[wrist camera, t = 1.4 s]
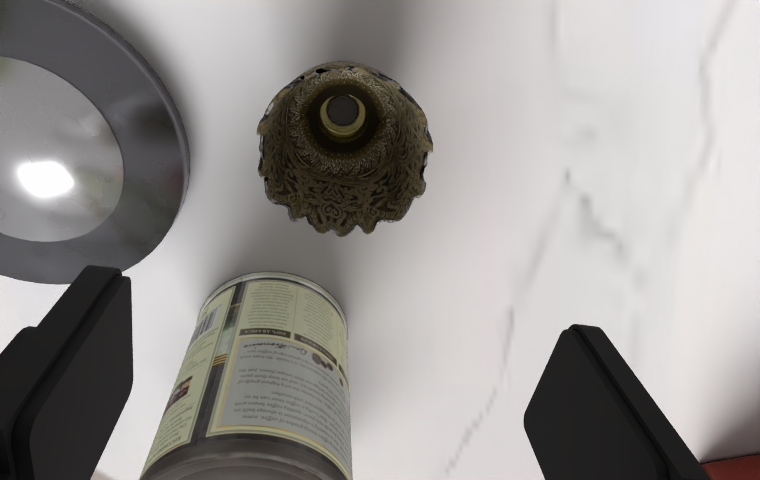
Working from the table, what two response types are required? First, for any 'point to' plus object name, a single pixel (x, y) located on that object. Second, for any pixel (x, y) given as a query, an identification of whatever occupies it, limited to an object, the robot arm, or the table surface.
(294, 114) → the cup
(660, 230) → the table surface
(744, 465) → the plant pot
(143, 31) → the table surface
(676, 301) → the table surface
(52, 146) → the gray dinner plate
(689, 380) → the table surface
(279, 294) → the coffee can
